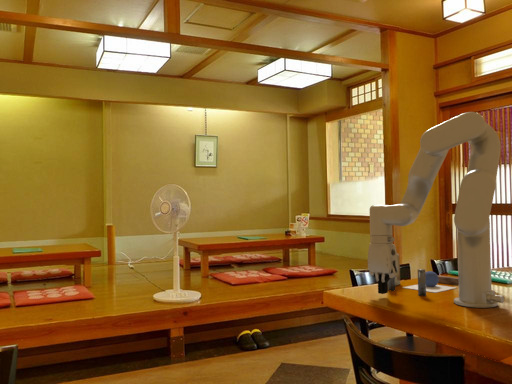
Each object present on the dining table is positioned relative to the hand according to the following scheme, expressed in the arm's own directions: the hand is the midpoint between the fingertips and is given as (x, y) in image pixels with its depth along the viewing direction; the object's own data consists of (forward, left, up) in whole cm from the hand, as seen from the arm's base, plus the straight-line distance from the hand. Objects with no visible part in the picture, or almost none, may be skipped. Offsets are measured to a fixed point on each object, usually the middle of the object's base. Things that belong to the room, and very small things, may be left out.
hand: (382, 293), depth 163 cm
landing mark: (0, -27, -2) cm, 27 cm away
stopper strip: (0, -41, -2) cm, 41 cm away
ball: (+1, -29, +2) cm, 29 cm away
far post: (+6, -13, -2) cm, 15 cm away
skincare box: (+14, -23, -2) cm, 27 cm away
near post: (-7, -13, -2) cm, 15 cm away
